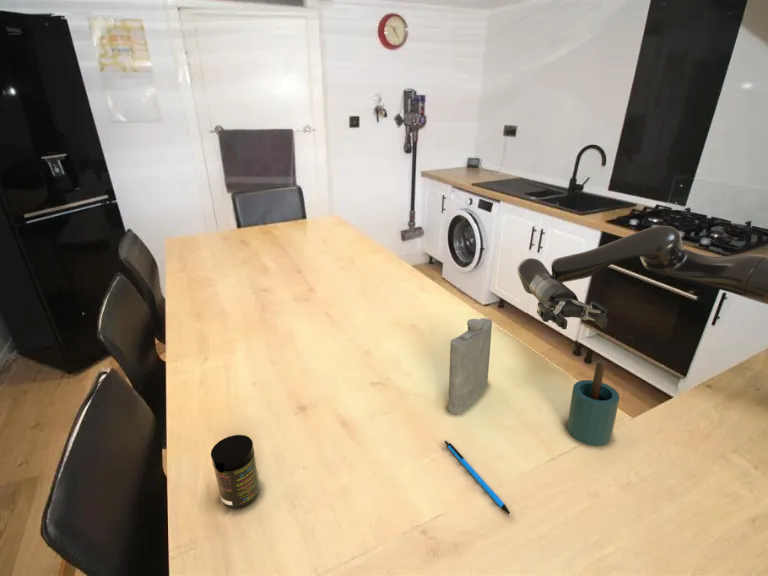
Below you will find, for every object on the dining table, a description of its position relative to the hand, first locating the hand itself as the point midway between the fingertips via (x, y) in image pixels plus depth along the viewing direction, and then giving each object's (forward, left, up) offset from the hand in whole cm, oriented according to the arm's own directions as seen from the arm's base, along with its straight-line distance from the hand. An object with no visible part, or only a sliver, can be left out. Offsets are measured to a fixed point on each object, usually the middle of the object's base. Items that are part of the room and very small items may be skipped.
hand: (585, 324), depth 88 cm
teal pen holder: (+2, +11, -20) cm, 22 cm away
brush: (+2, +11, -19) cm, 22 cm away
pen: (+28, +22, -20) cm, 40 cm away
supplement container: (+70, +25, -20) cm, 76 cm away
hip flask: (+24, -2, -20) cm, 31 cm away
